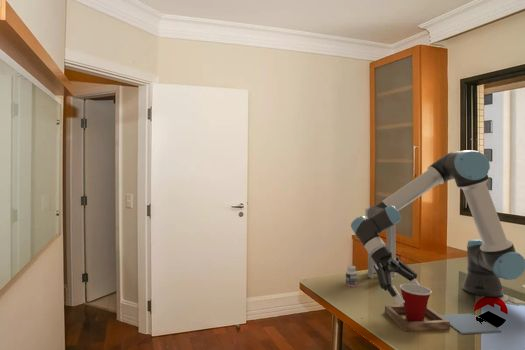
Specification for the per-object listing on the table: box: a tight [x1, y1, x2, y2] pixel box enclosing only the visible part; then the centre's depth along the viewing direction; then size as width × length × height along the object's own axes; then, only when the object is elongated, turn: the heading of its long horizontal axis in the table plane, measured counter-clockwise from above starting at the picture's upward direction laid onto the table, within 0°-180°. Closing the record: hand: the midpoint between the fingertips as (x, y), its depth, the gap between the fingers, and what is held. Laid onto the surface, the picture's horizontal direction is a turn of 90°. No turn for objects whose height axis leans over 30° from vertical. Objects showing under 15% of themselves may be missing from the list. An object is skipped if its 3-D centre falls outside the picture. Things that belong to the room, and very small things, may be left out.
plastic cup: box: [399, 283, 433, 322], centre depth 127 cm, size 11×11×12 cm
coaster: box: [440, 312, 502, 335], centre depth 124 cm, size 14×14×1 cm
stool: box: [364, 206, 397, 282], centre depth 179 cm, size 16×16×35 cm
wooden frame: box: [384, 304, 451, 332], centre depth 127 cm, size 16×16×2 cm
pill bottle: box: [345, 265, 358, 288], centre depth 166 cm, size 5×5×9 cm
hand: (413, 299), depth 127 cm, fingers open, 13 cm apart
